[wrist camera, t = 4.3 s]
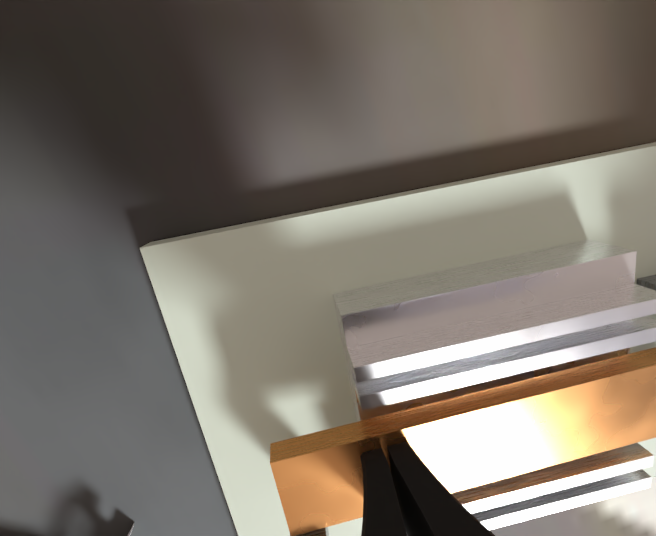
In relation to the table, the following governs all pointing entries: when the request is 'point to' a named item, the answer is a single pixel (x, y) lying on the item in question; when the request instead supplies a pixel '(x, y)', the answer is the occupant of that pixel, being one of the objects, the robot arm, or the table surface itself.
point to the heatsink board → (333, 247)
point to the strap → (473, 436)
